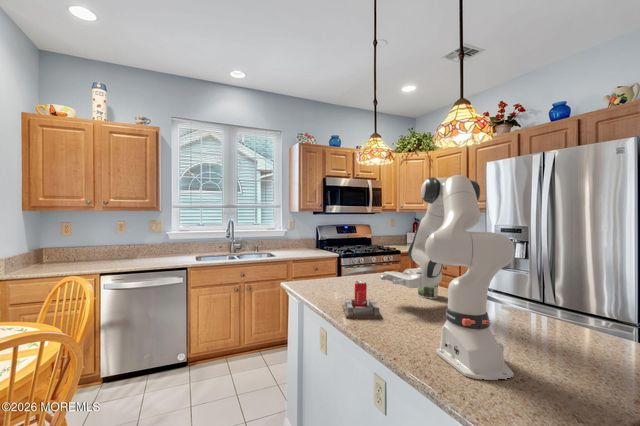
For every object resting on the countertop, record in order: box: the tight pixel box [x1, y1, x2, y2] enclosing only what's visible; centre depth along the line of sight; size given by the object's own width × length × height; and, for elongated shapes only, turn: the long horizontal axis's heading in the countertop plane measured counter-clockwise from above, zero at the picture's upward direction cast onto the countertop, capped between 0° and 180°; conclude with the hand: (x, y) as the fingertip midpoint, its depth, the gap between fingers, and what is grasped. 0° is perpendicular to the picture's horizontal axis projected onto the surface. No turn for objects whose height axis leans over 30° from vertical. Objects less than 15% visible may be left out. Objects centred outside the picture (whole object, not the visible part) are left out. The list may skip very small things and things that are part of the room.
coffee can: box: [417, 283, 439, 300], centre depth 165 cm, size 10×10×14 cm
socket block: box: [341, 298, 383, 320], centre depth 137 cm, size 15×15×4 cm
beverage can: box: [353, 280, 368, 307], centre depth 139 cm, size 5×5×12 cm
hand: (387, 280), depth 142 cm, fingers open, 8 cm apart
